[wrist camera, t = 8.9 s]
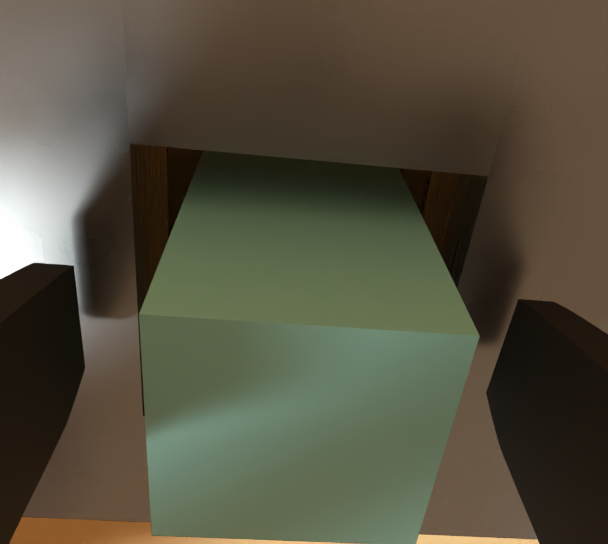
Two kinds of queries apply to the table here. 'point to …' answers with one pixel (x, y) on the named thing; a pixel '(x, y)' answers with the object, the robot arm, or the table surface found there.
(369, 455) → the square peg
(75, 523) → the table surface
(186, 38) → the bore block
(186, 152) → the table surface
